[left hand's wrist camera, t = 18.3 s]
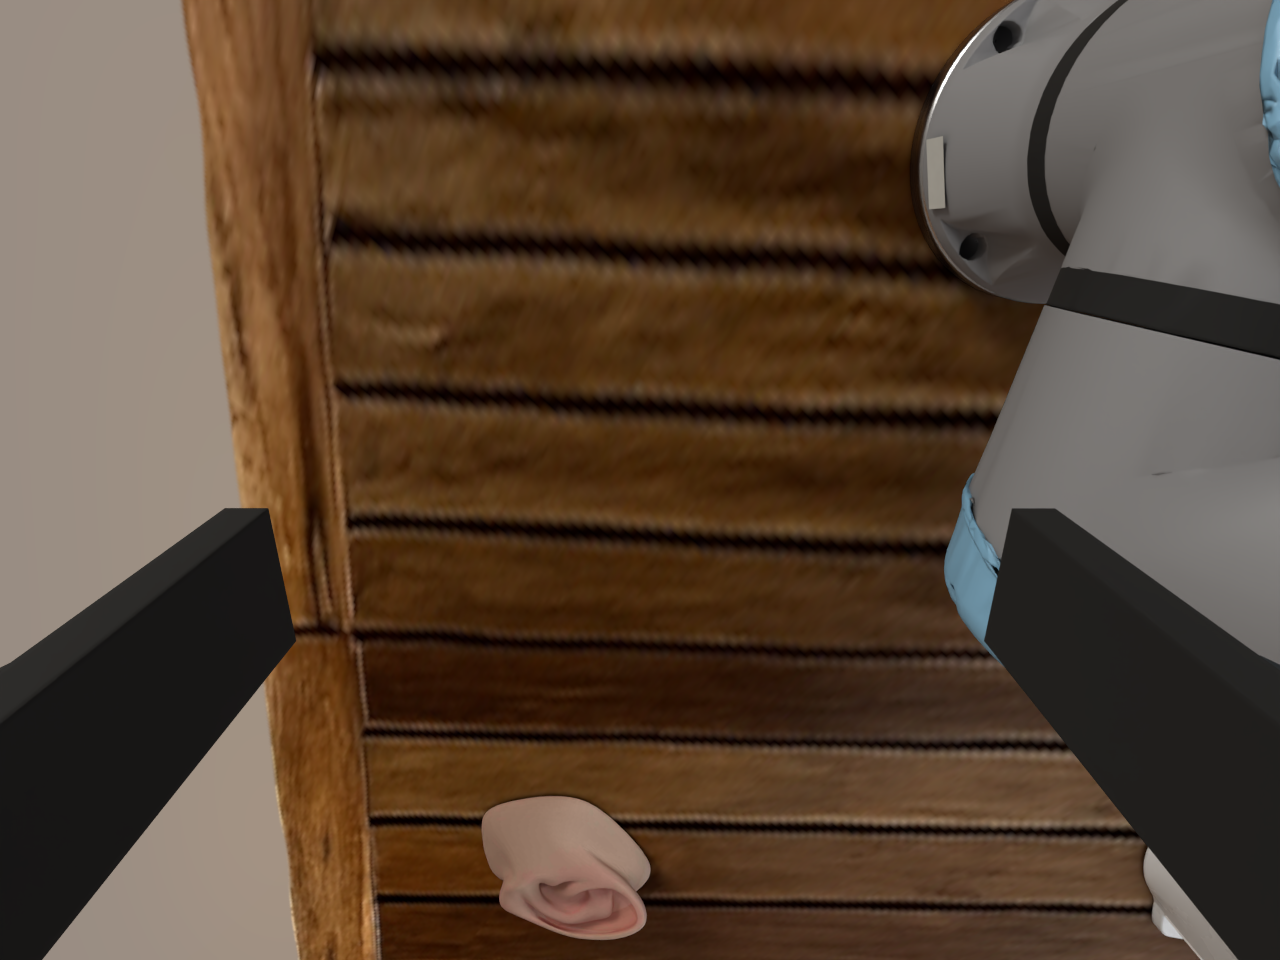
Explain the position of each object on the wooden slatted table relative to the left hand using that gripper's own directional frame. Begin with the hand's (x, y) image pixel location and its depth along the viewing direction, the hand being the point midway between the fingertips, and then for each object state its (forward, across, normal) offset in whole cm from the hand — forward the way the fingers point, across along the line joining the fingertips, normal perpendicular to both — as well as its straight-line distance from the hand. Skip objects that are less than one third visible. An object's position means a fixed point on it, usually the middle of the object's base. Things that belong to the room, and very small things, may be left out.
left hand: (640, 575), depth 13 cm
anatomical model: (+30, -6, -41) cm, 51 cm away
